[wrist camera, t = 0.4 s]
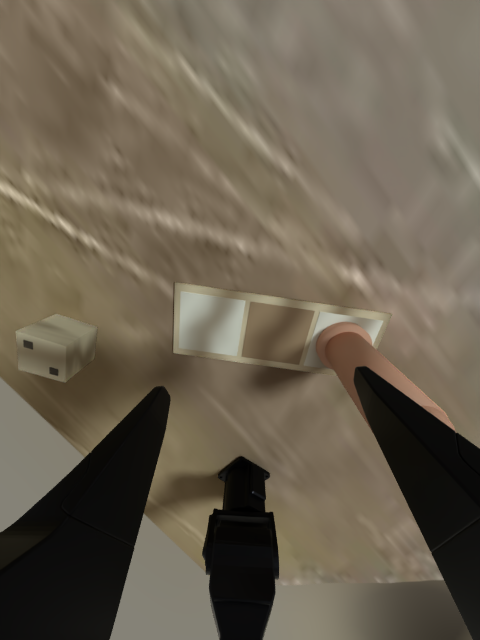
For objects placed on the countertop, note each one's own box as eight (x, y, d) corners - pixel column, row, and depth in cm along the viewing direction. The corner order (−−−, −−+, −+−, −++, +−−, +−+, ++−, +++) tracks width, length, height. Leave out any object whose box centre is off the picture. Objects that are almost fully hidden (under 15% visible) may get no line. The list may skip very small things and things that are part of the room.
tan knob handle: (338, 373, 27) (422, 504, 14) (305, 346, 26) (364, 464, 13) (377, 342, 25) (517, 460, 12) (344, 311, 24) (460, 407, 11)
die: (94, 358, 28) (64, 383, 24) (56, 346, 28) (18, 369, 23) (98, 326, 26) (65, 346, 22) (57, 313, 26) (15, 331, 21)
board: (390, 313, 24) (392, 314, 24) (361, 378, 28) (363, 379, 27) (175, 282, 24) (174, 282, 23) (174, 351, 27) (173, 353, 27)
